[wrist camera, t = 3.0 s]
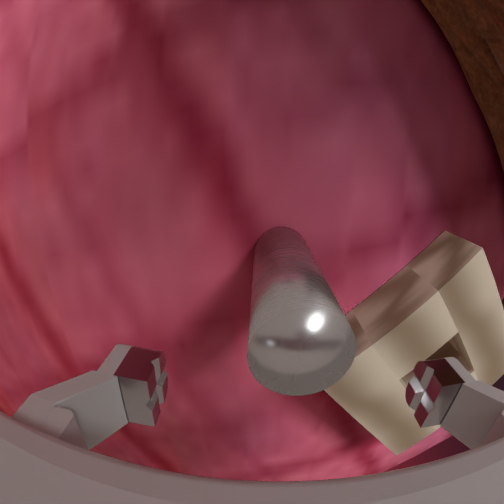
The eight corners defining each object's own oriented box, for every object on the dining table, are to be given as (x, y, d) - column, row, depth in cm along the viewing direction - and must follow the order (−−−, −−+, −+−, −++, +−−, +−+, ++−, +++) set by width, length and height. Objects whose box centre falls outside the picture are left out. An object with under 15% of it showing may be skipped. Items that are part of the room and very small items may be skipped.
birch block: (444, 230, 20) (482, 247, 15) (489, 336, 23) (515, 362, 18) (307, 342, 23) (316, 383, 18) (382, 420, 26) (396, 455, 21)
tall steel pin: (284, 215, 20) (315, 284, 9) (317, 255, 21) (374, 356, 9) (243, 249, 21) (224, 351, 9) (277, 287, 22) (291, 409, 10)
